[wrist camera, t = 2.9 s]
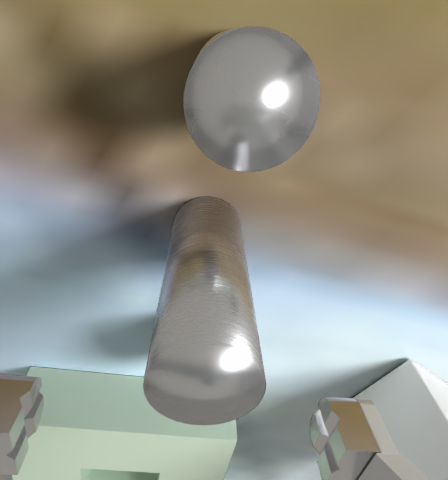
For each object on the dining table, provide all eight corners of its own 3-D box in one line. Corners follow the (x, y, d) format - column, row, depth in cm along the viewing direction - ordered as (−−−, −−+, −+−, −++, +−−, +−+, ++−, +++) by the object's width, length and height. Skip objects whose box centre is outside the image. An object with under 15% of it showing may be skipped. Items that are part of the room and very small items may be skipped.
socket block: (233, 385, 26) (237, 440, 22) (203, 484, 33) (202, 538, 29) (30, 366, 24) (0, 422, 20) (44, 475, 31) (23, 531, 27)
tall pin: (247, 202, 18) (279, 352, 10) (233, 259, 20) (251, 429, 12) (177, 191, 18) (148, 338, 9) (169, 250, 20) (139, 420, 11)
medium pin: (286, 39, 15) (339, 44, 9) (265, 126, 16) (297, 180, 10) (200, 20, 14) (193, 11, 8) (188, 112, 16) (175, 159, 10)
